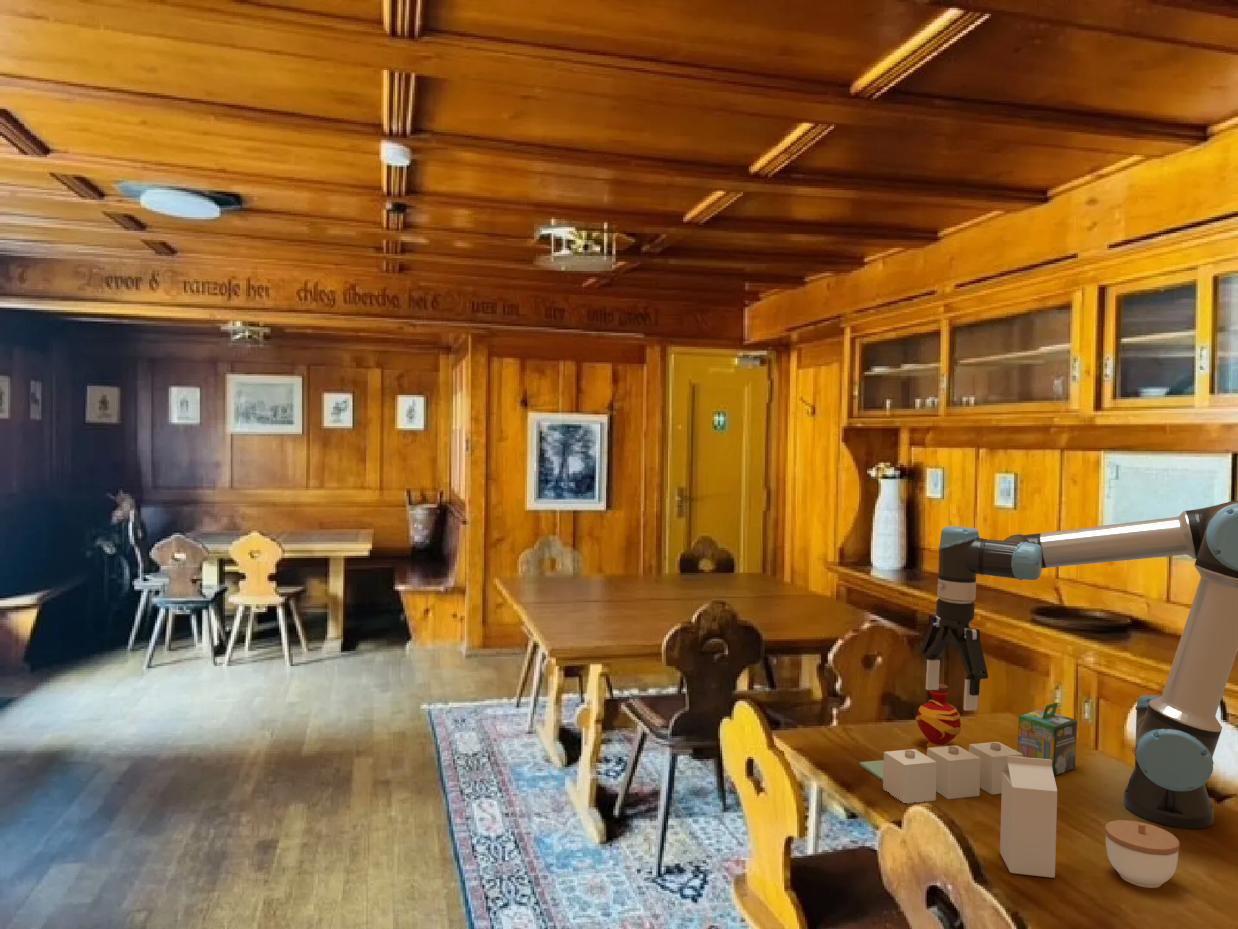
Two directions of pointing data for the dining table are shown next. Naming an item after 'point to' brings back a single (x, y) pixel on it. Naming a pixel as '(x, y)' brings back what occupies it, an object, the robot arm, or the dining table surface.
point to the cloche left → (909, 776)
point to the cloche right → (992, 764)
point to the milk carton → (1028, 816)
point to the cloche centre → (956, 771)
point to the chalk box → (1048, 738)
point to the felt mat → (874, 767)
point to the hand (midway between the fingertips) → (950, 699)
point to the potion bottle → (938, 719)
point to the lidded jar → (1141, 852)
